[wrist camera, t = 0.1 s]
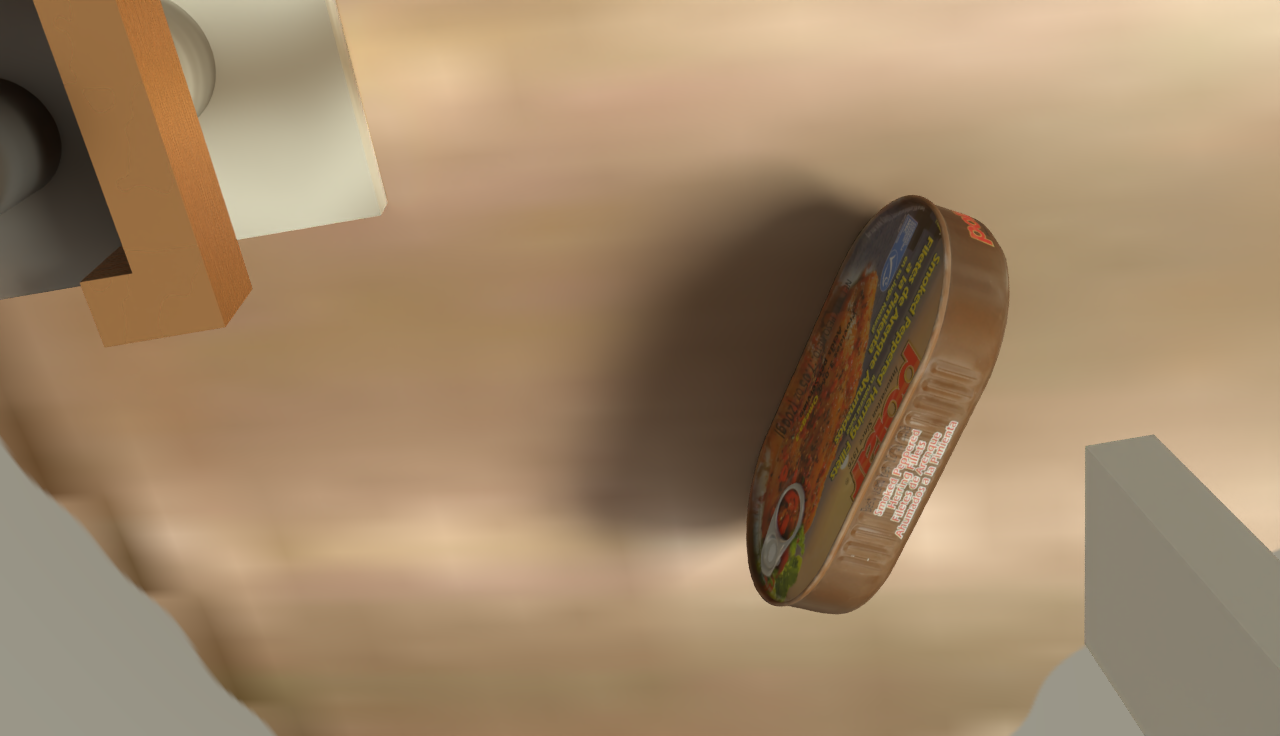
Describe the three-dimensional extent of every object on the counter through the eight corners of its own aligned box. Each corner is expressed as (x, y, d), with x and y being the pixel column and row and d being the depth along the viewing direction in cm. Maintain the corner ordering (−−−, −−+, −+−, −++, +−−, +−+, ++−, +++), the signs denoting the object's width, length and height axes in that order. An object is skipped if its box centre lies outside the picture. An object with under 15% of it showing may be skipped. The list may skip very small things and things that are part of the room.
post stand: (-103, -112, 35) (-705, -75, 18) (288, -180, 34) (38, -205, 18) (45, 260, 40) (-322, 552, 23) (387, 202, 39) (261, 454, 23)
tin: (885, 164, 40) (961, 239, 32) (965, 192, 41) (1058, 272, 33) (727, 516, 46) (761, 652, 38) (800, 537, 46) (847, 674, 39)
